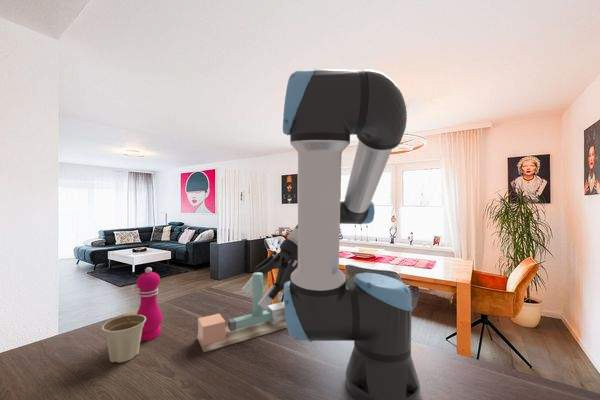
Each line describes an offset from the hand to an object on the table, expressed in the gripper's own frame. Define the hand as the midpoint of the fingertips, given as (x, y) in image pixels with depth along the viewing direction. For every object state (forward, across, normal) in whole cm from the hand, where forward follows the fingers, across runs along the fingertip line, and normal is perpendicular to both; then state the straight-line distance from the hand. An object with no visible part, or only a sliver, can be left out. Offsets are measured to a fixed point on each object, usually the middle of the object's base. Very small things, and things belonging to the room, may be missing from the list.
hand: (252, 299), depth 81 cm
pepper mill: (+26, +13, +12) cm, 31 cm away
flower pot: (+30, +4, +16) cm, 34 cm away
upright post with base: (+3, 0, -7) cm, 8 cm away
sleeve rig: (+7, 0, -6) cm, 9 cm away
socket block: (+14, 0, +3) cm, 15 cm away
